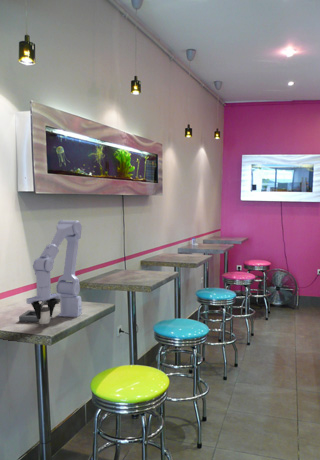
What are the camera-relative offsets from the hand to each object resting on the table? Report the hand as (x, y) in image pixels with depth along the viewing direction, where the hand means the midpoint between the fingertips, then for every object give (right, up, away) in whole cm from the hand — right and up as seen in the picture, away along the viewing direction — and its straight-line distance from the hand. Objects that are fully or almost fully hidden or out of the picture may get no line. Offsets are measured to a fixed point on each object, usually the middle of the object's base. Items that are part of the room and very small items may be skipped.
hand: (44, 317), depth 180 cm
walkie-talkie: (-7, -1, +39) cm, 40 cm away
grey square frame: (-7, -3, +10) cm, 13 cm away
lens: (0, -2, 0) cm, 2 cm away
